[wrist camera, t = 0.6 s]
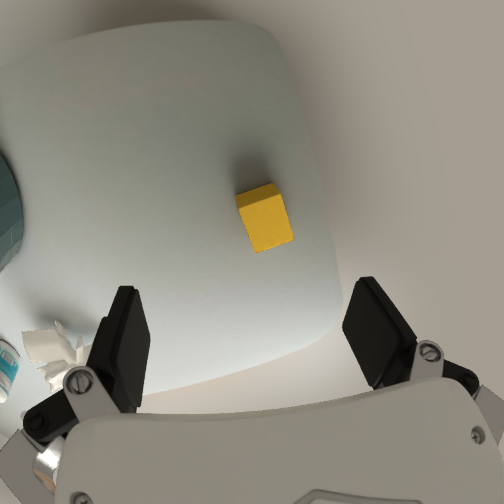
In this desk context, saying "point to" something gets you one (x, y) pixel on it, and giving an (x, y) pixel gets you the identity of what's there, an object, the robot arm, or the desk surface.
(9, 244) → the bowl
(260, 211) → the yellow block
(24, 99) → the desk surface
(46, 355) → the figurine
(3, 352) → the pill bottle
